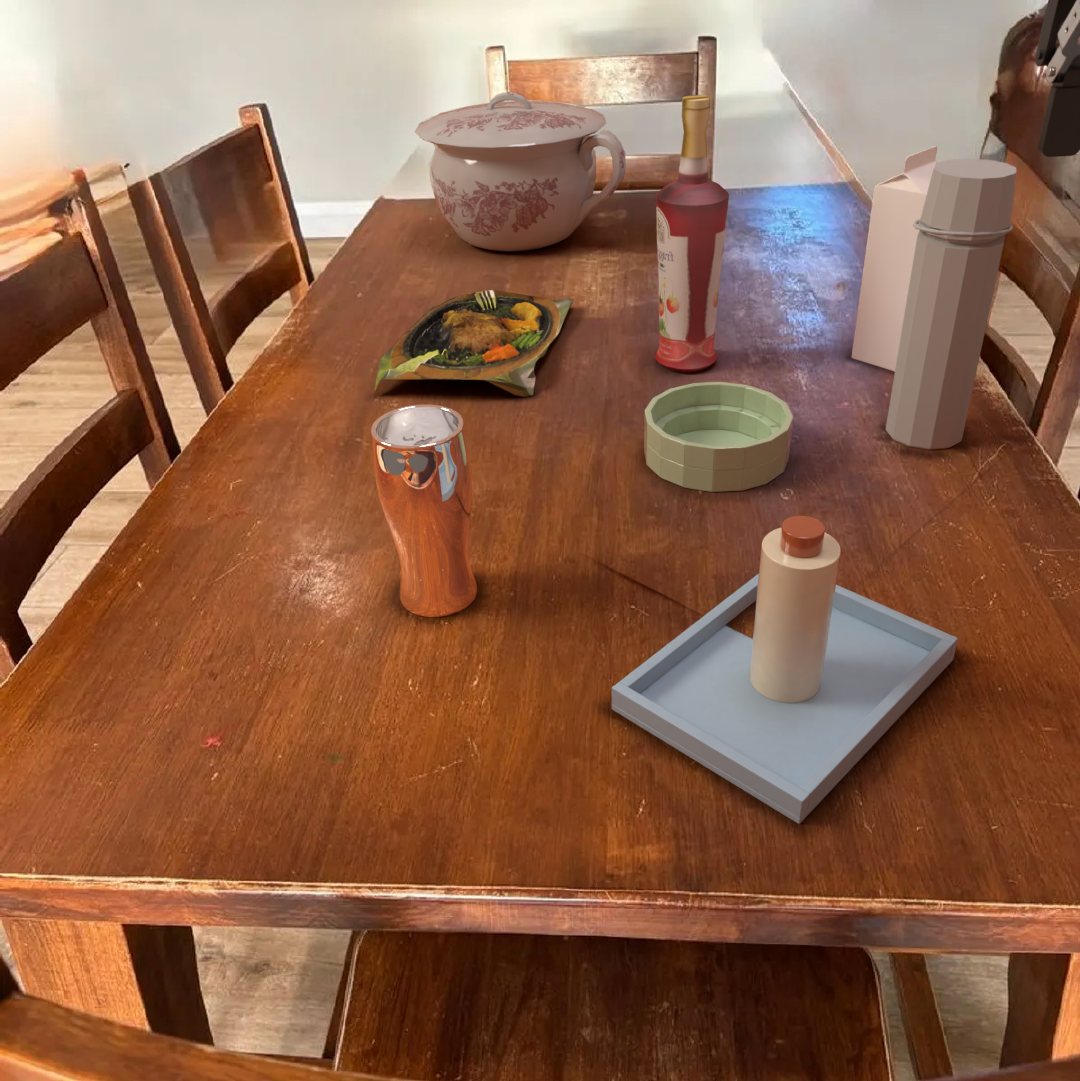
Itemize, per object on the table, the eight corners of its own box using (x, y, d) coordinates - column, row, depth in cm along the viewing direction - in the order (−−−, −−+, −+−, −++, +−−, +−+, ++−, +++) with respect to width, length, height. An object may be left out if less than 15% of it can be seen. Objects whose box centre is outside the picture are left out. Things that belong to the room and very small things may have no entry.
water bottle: (973, 457, 93) (1035, 180, 79) (885, 454, 95) (930, 180, 81) (955, 412, 101) (1009, 151, 87) (874, 410, 102) (914, 152, 88)
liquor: (728, 375, 110) (746, 101, 95) (664, 384, 109) (671, 108, 93) (705, 349, 116) (718, 87, 101) (644, 358, 115) (648, 94, 99)
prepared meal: (437, 275, 130) (574, 276, 127) (440, 301, 132) (575, 303, 129) (363, 374, 108) (526, 379, 105) (369, 403, 111) (529, 409, 107)
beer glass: (382, 584, 81) (354, 417, 73) (461, 559, 84) (443, 394, 75) (413, 632, 76) (387, 458, 67) (497, 603, 78) (482, 432, 70)
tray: (775, 579, 79) (777, 558, 78) (953, 660, 71) (958, 637, 70) (611, 709, 68) (611, 687, 67) (799, 824, 59) (802, 801, 58)
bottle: (775, 646, 72) (791, 497, 65) (834, 676, 69) (858, 524, 62) (735, 681, 69) (748, 528, 62) (796, 713, 66) (816, 558, 59)
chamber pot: (405, 228, 160) (388, 88, 149) (563, 202, 168) (559, 67, 157) (462, 282, 139) (448, 122, 127) (641, 249, 147) (642, 96, 135)
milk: (927, 356, 112) (967, 149, 100) (898, 374, 109) (935, 161, 96) (878, 342, 116) (911, 140, 104) (849, 358, 113) (878, 152, 100)
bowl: (700, 415, 103) (703, 370, 100) (814, 456, 95) (820, 408, 92) (616, 465, 95) (616, 417, 92) (731, 513, 87) (735, 463, 85)
